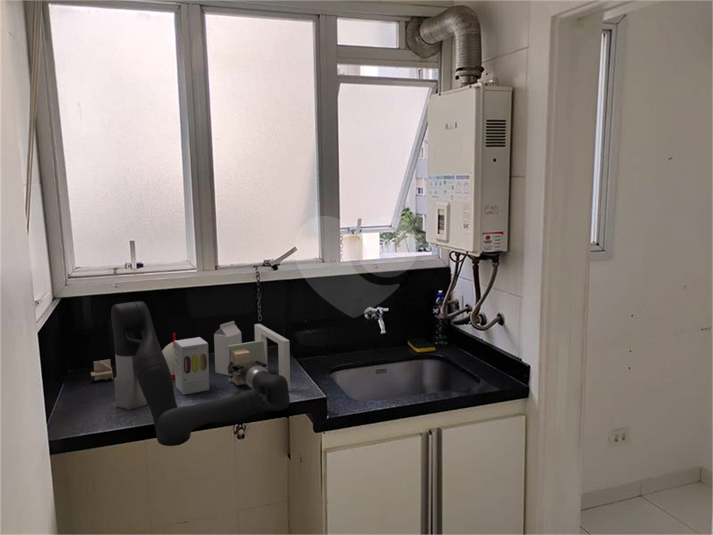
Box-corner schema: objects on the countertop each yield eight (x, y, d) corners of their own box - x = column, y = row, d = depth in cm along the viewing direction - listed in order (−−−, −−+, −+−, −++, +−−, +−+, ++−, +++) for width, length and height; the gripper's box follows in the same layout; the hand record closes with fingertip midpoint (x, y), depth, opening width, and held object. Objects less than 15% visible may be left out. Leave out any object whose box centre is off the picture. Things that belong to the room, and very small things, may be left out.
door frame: (255, 370, 214) (254, 324, 211) (260, 369, 215) (259, 323, 212) (284, 392, 192) (283, 341, 190) (290, 391, 193) (289, 340, 191)
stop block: (250, 382, 198) (250, 352, 197) (237, 385, 196) (236, 354, 194) (245, 378, 202) (244, 348, 201) (232, 380, 200) (231, 350, 198)
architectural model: (113, 381, 204) (112, 361, 203) (92, 385, 200) (90, 365, 199) (112, 378, 207) (110, 359, 205) (91, 382, 203) (89, 362, 202)
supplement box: (182, 395, 190) (180, 347, 187) (174, 387, 197) (172, 340, 195) (210, 389, 195) (208, 342, 192) (201, 381, 203) (200, 336, 200)
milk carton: (242, 370, 214) (241, 322, 211) (229, 376, 208) (227, 326, 205) (229, 367, 218) (227, 319, 215) (215, 372, 212) (213, 323, 209)
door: (265, 372, 211) (264, 338, 209) (268, 374, 209) (267, 340, 206) (227, 379, 203) (226, 344, 201) (230, 381, 201) (229, 346, 199)
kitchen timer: (194, 365, 220) (192, 327, 218) (196, 376, 208) (194, 337, 205) (156, 368, 216) (154, 330, 214) (156, 381, 203) (153, 340, 201)
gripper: (236, 392, 183) (219, 376, 197) (276, 383, 190) (257, 369, 205) (235, 370, 182) (218, 356, 196) (276, 362, 189) (257, 349, 204)
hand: (238, 363), depth 200 cm, fingers closed on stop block, 5 cm apart
